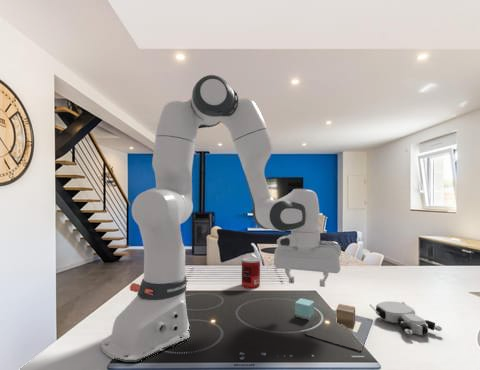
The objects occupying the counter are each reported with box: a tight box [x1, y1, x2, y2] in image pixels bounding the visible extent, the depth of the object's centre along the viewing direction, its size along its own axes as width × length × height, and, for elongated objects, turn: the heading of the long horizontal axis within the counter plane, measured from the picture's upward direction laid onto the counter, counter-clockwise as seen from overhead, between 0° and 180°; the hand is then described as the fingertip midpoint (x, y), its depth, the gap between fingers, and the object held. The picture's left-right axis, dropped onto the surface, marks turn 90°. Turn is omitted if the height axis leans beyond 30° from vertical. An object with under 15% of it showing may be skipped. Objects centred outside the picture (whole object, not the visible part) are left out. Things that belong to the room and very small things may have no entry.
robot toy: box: [369, 301, 443, 336], centre depth 77 cm, size 12×4×15 cm
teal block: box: [294, 297, 315, 318], centre depth 82 cm, size 4×4×4 cm
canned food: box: [241, 256, 261, 290], centre depth 111 cm, size 8×8×11 cm
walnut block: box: [335, 303, 356, 329], centre depth 77 cm, size 4×4×4 cm
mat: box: [332, 309, 374, 346], centre depth 75 cm, size 20×14×1 cm
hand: (306, 284), depth 83 cm, fingers open, 8 cm apart
